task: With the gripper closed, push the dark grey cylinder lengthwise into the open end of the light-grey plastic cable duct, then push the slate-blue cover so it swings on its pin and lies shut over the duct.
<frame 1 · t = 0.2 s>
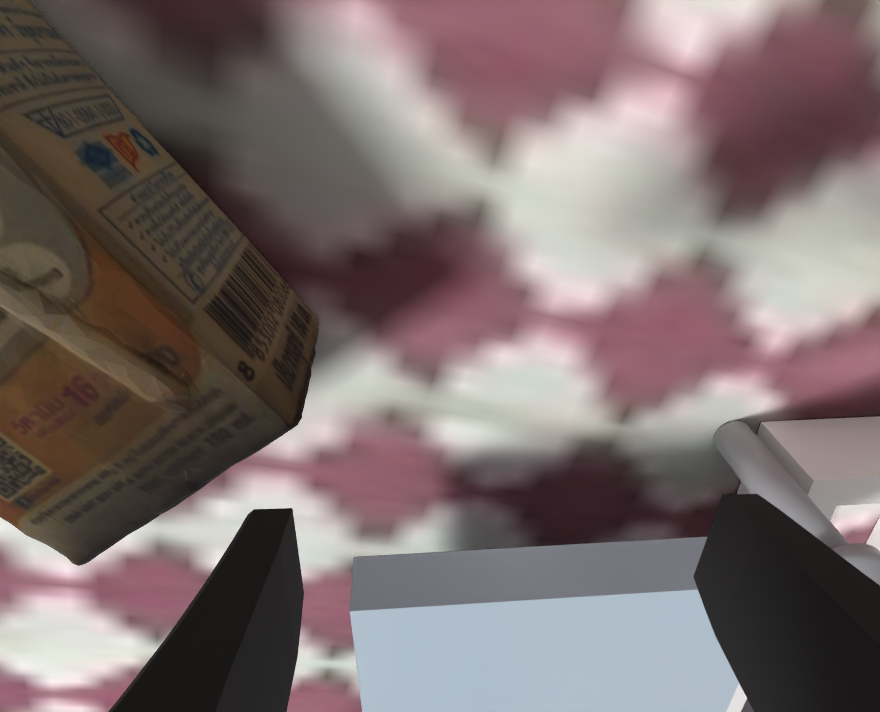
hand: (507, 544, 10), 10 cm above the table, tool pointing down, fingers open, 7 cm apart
duct: (801, 554, 26), on the table
cover: (591, 635, 19), point 5 cm above the table, hinge at -90.0°
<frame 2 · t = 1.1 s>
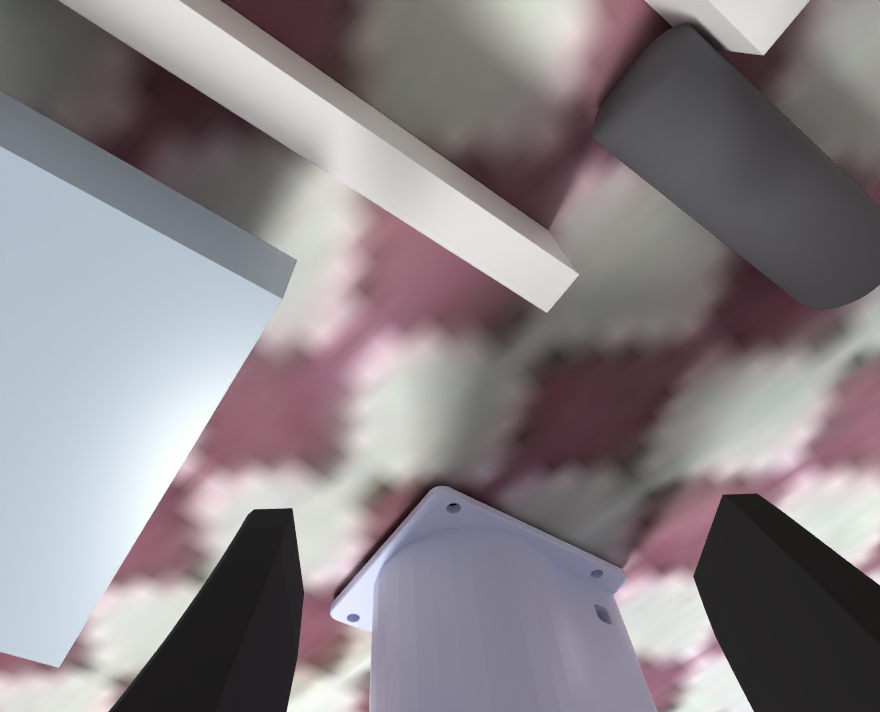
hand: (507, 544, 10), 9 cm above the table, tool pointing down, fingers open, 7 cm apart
dark grey cylinder: (699, 208, 16), on the table, tilted 51°
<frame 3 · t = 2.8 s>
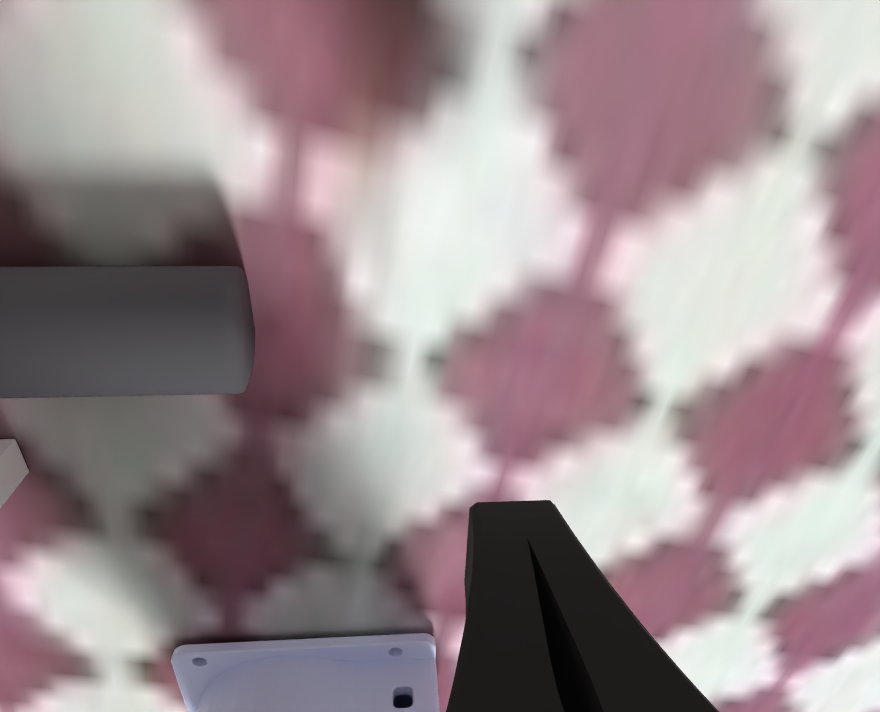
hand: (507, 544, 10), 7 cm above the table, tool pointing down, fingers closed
dark grey cylinder: (94, 356, 15), on the table, tilted 52°
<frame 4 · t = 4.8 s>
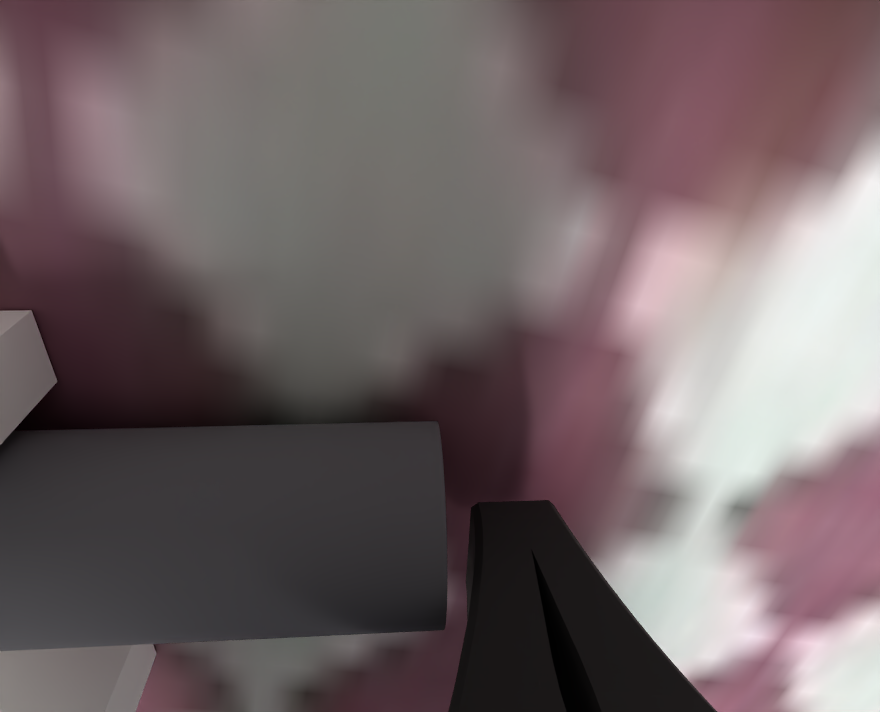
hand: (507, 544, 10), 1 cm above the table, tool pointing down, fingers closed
dark grey cylinder: (199, 533, 10), point 1 cm above the table, tilted 49°, touching gripper
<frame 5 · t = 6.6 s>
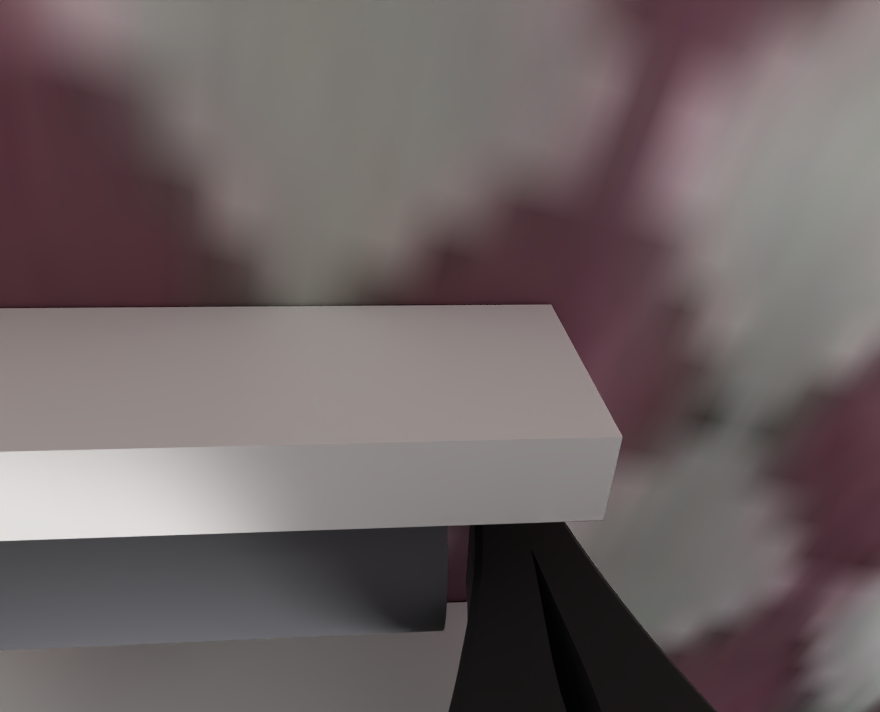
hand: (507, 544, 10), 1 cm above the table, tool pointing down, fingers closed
duct: (103, 514, 10), on the table
dark grey cylinder: (198, 534, 10), point 1 cm above the table, tilted 50°, touching gripper
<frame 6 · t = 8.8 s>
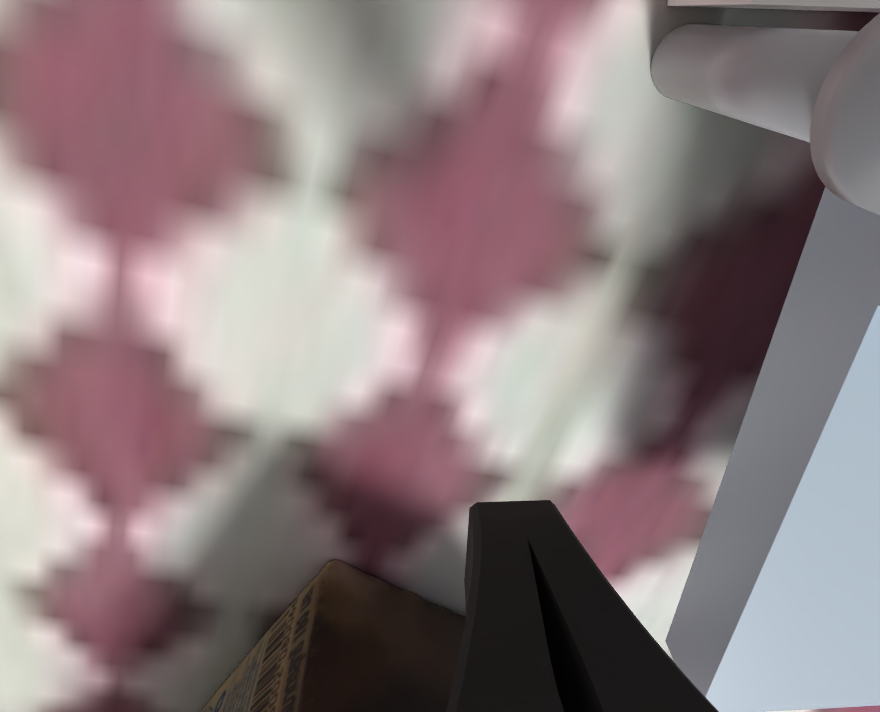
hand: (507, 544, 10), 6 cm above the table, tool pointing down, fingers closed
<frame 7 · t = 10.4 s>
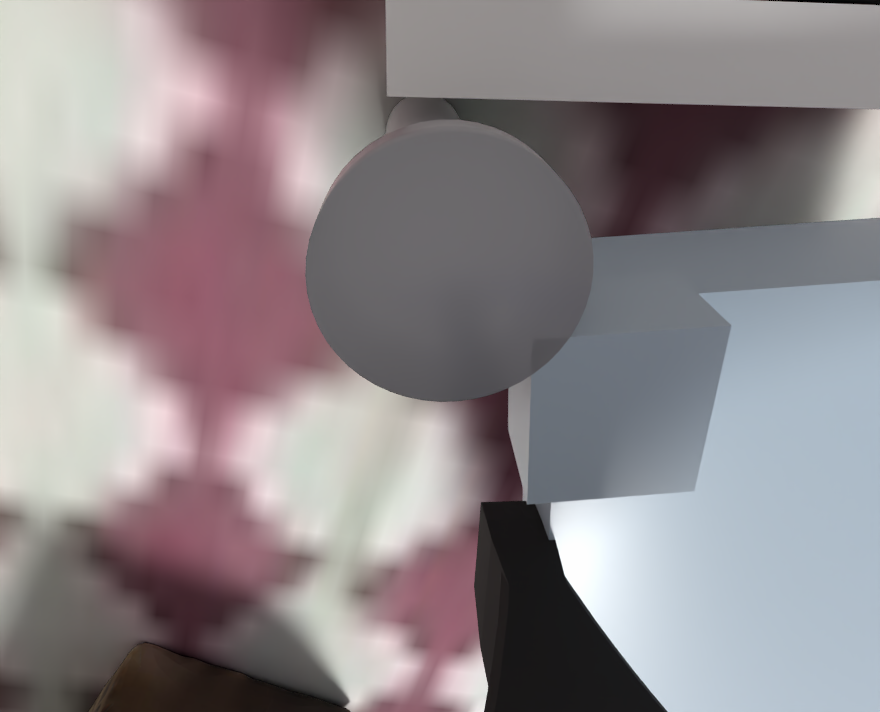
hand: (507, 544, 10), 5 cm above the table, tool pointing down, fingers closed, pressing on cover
cover: (687, 588, 10), point 5 cm above the table, hinge at -85.2°, touching gripper
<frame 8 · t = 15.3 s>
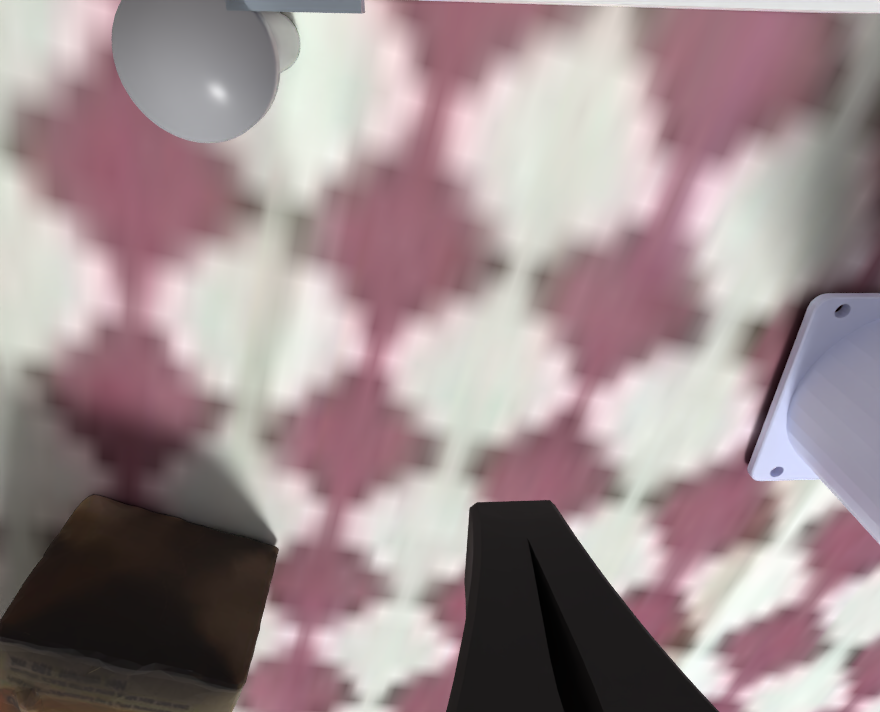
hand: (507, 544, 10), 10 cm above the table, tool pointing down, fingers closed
brown box-shaped piece: (143, 646, 27), on the table
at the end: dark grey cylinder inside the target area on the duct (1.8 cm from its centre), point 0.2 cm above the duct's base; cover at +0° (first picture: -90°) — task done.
